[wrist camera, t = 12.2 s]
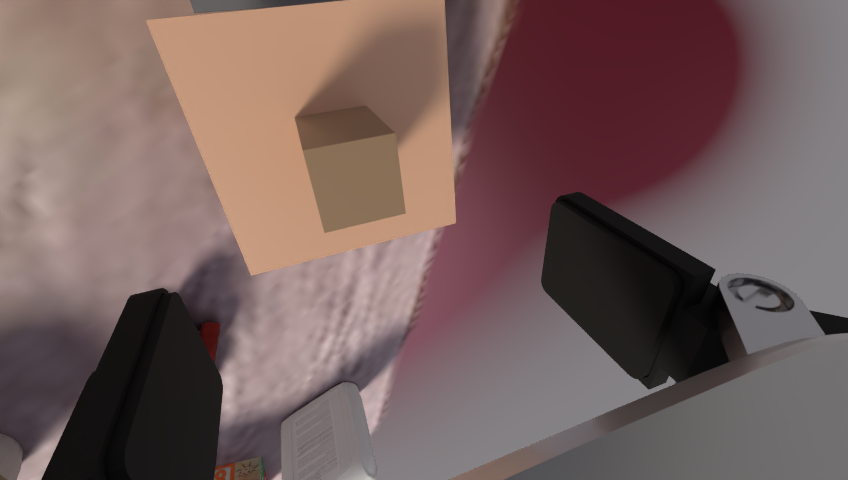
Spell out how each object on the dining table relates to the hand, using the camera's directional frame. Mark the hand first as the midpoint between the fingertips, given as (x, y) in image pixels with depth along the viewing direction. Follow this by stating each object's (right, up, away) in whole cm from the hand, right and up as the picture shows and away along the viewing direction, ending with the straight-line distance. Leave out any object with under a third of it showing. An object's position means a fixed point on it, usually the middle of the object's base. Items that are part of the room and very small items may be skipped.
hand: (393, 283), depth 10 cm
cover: (-5, +8, +16) cm, 18 cm away
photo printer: (-12, -19, +38) cm, 44 cm away
